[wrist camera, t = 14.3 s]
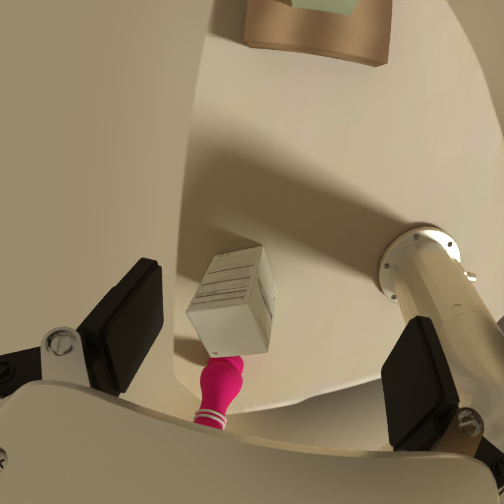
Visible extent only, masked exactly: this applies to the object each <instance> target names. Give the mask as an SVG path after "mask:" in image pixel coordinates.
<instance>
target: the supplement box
mask: <svg viewBox="0 0 504 504" xmlns="http://www.w3.org/2000/svg"><path fill="white" fill-rule="evenodd" d="M277 289H278V288H277V286H276V283H275V281H274V278H273V275H272V272H271V269H270V266H269V263H268V260H267V256H266V253H265V249H264V246H258V247H253V248H248V249H244V250H239V251H234V252H229V253H225V254H220V255H216V256H214V258H213V260H212V262H211V264H210V266H209V268H208V270H207V271H206V273H205V275H204V277H203V279H202V281H201V283H200V285H199V287H198V289H197V291H196V293H195V295H194V297H193V299H192V301H191V303H190V305H189V307H188V308H187V310H186V314H187V316H188V318H189V320H190V321H191V323H192V325H193V327H194V329H195V330H196V332H197V334H198V336H199V338H200V340H201V341H202V343H203V345H204V347H205V348H206V350H207V352H208V354H209V356H210V357H211V358H212V357H229V356H240V355H250V354H260V353H266V352H268V348H269V342H270V335H271V329H272V322H273V316H274V310H275V303H276V296H277Z"/></svg>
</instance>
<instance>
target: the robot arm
mask: <svg viewBox="0 0 504 504" xmlns="http://www.w3.org/2000/svg"><path fill="white" fill-rule="evenodd" d="M414 235H415V236H414ZM460 262H461V260H460V252H459V248H458V246H457V244H456V243H455V241H454V240H453V238H452V237H451V236H450V235H449V234H447V233H446V232H445V231H443V230H441V229H439V228H435V227H419V228H415V229H412V230H410V231H407V232H405V233H404V234H402V235H400V236H399V237H398V238H397V239H396V240H394V241H393V242H392V243H391V245H390V246H389V247H388V248H387V250H386V251H385V253H384V255H383V257H382V259H381V262H380V266H379V281H380V285H381V288H382V291H383V292H384V294H385V295H386V297H387V298H388V299H389V300H390V301H392V302H393V303H395V304H397V305H399V306H400V309H401V312H402V315H403V318H404V321H405V324H406V327H405V329H404V331H403V333H402V334H401V336H400V338H399V340H398V341H397V343H396V345H395V346H394V348H393V350H392V351H391V353H390V355H389V356H388V358H387V360H386V361H385V363H384V364H383V366H382V370H381V377H382V384H383V391H384V398H385V406H386V414H387V424H388V434H389V443H387V444H385V445H384V446H382V447H381V448H380V449H379V450H377V451H361V450H345V449H332V448H323V447H314V446H306V445H298V444H291V443H285V442H278V441H273V440H267V439H262V438H256V437H251V436H247V435H242V434H237V433H233V432H228V431H224V430H220V429H216V428H212V427H208V426H204V425H201V424H197V423H193V422H190V421H186V420H183V419H180V418H176V417H173V416H170V415H167V414H164V413H161V412H158V411H155V410H152V409H149V408H146V407H142V406H140V405H137V404H134V403H131V402H129V401H126V400H123V399H120V398H118V397H119V395H120V393H125V392H126V390H127V389H128V387H129V385H130V383H131V381H132V379H133V378H134V376H135V374H136V373H137V371H138V369H139V367H140V365H141V364H142V362H143V360H144V358H145V357H146V355H147V353H148V351H149V350H150V348H151V346H152V345H153V343H154V341H155V339H156V338H157V336H158V334H159V332H160V330H161V329H162V326H163V322H164V318H163V296H162V295H163V293H162V267H161V266H159V265H158V262H157V261H156V260H151V259H147V258H141V259H140V260H139V261H138V262H137V263H136V264H135V265H134V266H133V267H132V269H131V270H130V271H129V272H128V273H127V274H126V275H125V276H124V277H123V278H122V280H121V281H120V282H119V283H118V284H117V285H116V286H115V287H113V288H111V290H110V291H109V292H108V293H107V294H106V295H105V296H104V298H103V299H102V300H101V301H100V302H99V303H98V305H96V307H95V308H94V309H93V310H92V312H91V313H90V314H89V315H88V316H87V317H86V318H85V320H84V321H83V322H82V323H81V325H80V326H79V327H78V328H77V329H76V330H74V329H72V328H69V327H57V328H54V329H52V330H50V331H49V332H47V333H46V334H45V335H44V337H43V339H42V340H41V346H40V347H35V348H31V349H27V350H22V351H18V352H13V353H9V354H4V355H0V504H504V335H503V334H502V332H501V330H500V328H499V327H498V325H497V323H496V322H495V320H494V318H493V317H492V315H491V314H490V312H489V310H488V309H487V307H486V305H485V304H484V302H483V301H482V299H481V297H480V296H479V294H478V293H477V291H476V289H475V288H474V287H473V285H472V284H471V283H474V282H475V281H476V274H475V273H471V272H466V271H465V270H464V269H463V267H462V266H461V264H460Z"/></svg>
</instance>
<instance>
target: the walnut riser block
mask: <svg viewBox="0 0 504 504" xmlns="http://www.w3.org/2000/svg"><path fill="white" fill-rule="evenodd" d="M391 17H392V0H360V1H359V2H358V4H357V5H356V7H355V8H354V10H353V11H352V13H351V15H350V16H348V15H343V14H338V13H332V12H326V11H320V10H313V9H306V8H298V7H292V0H248V1H247V10H246V19H245V28H244V37H243V41H244V42H245V43H246V44H247V45H248V46H249V47H251V48H259V49H272V50H282V51H291V52H299V53H306V54H313V55H319V56H325V57H331V58H337V59H342V60H347V61H352V62H356V63H361V64H365V65H369V66H373V67H378V66H381V65H384V64H387V63H388V54H389V43H390V32H391Z"/></svg>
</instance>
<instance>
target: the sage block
mask: <svg viewBox="0 0 504 504" xmlns="http://www.w3.org/2000/svg"><path fill="white" fill-rule="evenodd" d="M359 1H360V0H292V7H298V8H306V9H313V10H320V11H326V12H332V13H338V14H343V15H348V16H350V15H351V13H352V11H353V10H354V8H355V7H356V5H357V4H358V2H359Z"/></svg>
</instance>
